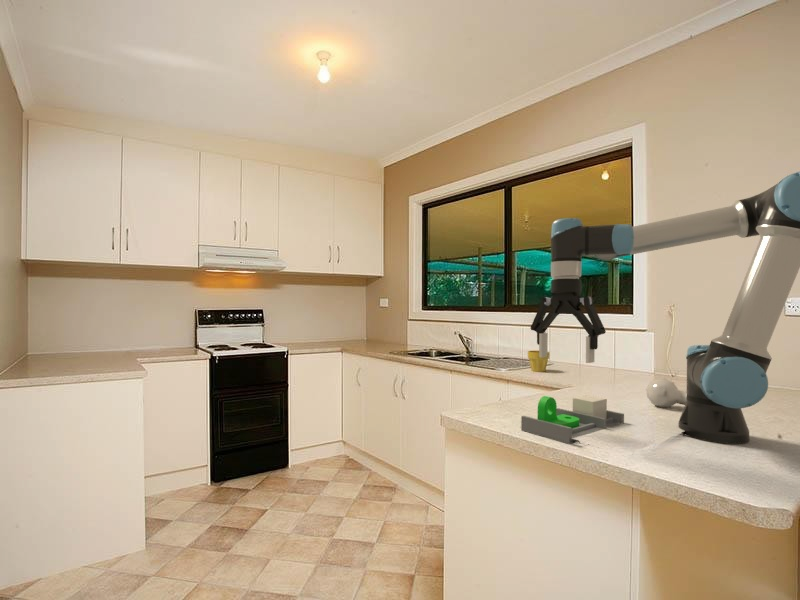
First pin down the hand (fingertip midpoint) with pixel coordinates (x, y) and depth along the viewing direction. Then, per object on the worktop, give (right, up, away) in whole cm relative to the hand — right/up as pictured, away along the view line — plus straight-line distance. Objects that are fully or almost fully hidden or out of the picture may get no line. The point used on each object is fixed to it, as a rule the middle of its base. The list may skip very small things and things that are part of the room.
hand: (565, 359), depth 119 cm
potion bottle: (+46, -20, +30) cm, 58 cm away
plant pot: (+25, -20, +107) cm, 112 cm away
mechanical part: (-1, -18, -1) cm, 18 cm away
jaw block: (+9, -18, +7) cm, 21 cm away
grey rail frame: (+3, -19, +3) cm, 19 cm away
